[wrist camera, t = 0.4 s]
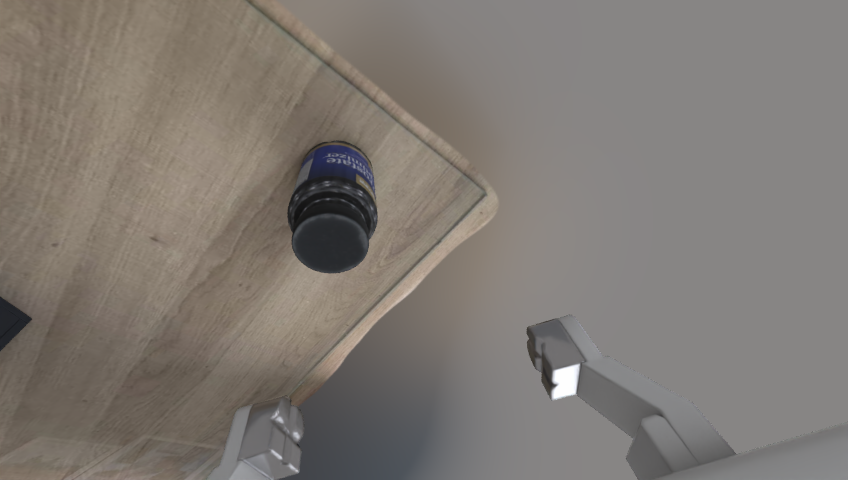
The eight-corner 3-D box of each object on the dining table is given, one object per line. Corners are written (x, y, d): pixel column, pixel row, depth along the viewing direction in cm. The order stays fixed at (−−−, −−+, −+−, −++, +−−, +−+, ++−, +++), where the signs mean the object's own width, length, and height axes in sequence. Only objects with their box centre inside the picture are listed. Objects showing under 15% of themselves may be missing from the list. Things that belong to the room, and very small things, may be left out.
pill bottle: (385, 160, 30) (399, 229, 21) (353, 212, 32) (353, 293, 23) (319, 124, 27) (303, 185, 18) (289, 184, 29) (263, 263, 21)
